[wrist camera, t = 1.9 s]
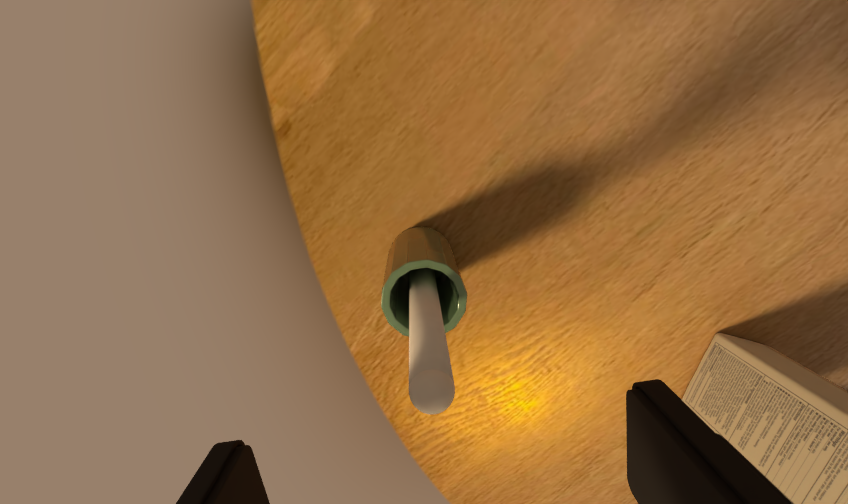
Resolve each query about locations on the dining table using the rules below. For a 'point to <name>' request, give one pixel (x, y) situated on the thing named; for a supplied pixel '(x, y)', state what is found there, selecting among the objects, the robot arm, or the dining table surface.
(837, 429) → the cosmetic box
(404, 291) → the pen pot
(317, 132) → the dining table surface
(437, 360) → the stylus
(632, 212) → the dining table surface
